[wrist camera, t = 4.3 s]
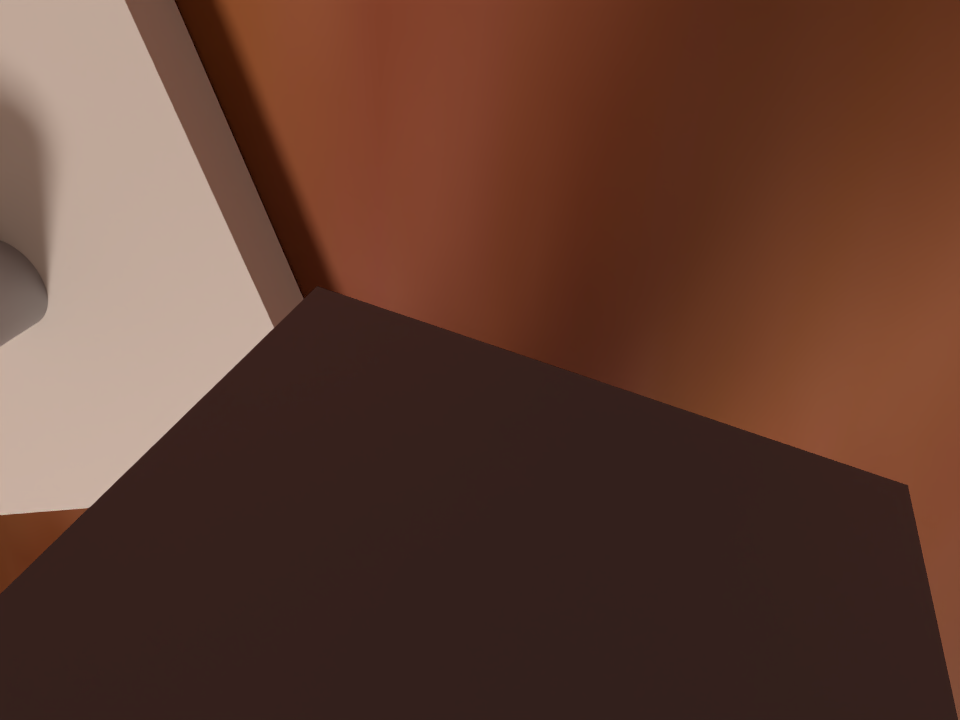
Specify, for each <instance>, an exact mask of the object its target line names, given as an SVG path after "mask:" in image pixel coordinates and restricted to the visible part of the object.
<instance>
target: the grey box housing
mask: <svg viewBox="0 0 960 720" xmlns="http://www.w3.org/2000/svg"><path fill="white" fill-rule="evenodd" d="M0 720H958V717H957V713H956V708H955V703H954V699H953V694H952V689H951V685H950V680H949V675H948V671H947V666H946V662H945V657H944V652H943V648H942V643H941V638H940V634H939V629H938V624H937V620H936V615H935V610H934V606H933V601H932V596H931V592H930V587H929V582H928V578H927V573H926V568H925V564H924V559H923V554H922V550H921V545H920V540H919V536H918V531H917V526H916V522H915V517H914V512H913V508H912V503H911V499H910V494H909V489H908V485H905V484H902V483H899V482H896V481H893V480H890V479H887V478H884V477H881V476H878V475H875V474H872V473H869V472H867V471H864V470H861V469H858V468H855V467H852V466H849V465H846V464H843V463H840V462H837V461H834V460H831V459H828V458H825V457H822V456H819V455H816V454H813V453H810V452H807V451H804V450H801V449H798V448H795V447H792V446H789V445H786V444H783V443H781V442H778V441H775V440H772V439H769V438H766V437H763V436H760V435H757V434H754V433H751V432H748V431H745V430H742V429H739V428H736V427H733V426H730V425H727V424H724V423H721V422H718V421H715V420H712V419H709V418H706V417H703V416H700V415H697V414H695V413H692V412H689V411H686V410H683V409H680V408H677V407H674V406H671V405H668V404H665V403H662V402H659V401H656V400H653V399H650V398H647V397H644V396H641V395H638V394H635V393H632V392H629V391H626V390H623V389H620V388H617V387H614V386H611V385H609V384H606V383H603V382H600V381H597V380H594V379H591V378H588V377H585V376H582V375H579V374H576V373H573V372H570V371H567V370H564V369H561V368H558V367H555V366H552V365H549V364H546V363H543V362H540V361H537V360H534V359H531V358H528V357H525V356H523V355H520V354H517V353H514V352H511V351H508V350H505V349H502V348H499V347H496V346H493V345H490V344H487V343H484V342H481V341H478V340H475V339H472V338H469V337H466V336H463V335H460V334H457V333H454V332H451V331H448V330H445V329H442V328H439V327H437V326H434V325H431V324H428V323H425V322H422V321H419V320H416V319H413V318H410V317H407V316H404V315H401V314H398V313H395V312H392V311H389V310H386V309H383V308H380V307H377V306H374V305H371V304H368V303H365V302H362V301H359V300H356V299H353V298H351V297H348V296H345V295H342V294H339V293H336V292H333V291H330V290H327V289H324V288H321V287H318V286H317V287H316V288H315V289H314V290H313V291H312V292H310V293H309V294H308V295H307V296H306V297H305V298H304V299H303V300H302V301H301V302H300V303H299V304H298V305H297V306H296V307H295V308H294V309H293V310H292V311H291V312H290V313H289V314H288V315H287V316H286V317H285V318H284V319H283V320H282V321H281V322H280V323H279V324H278V325H277V326H276V327H275V328H273V329H272V330H271V331H270V332H269V333H268V334H267V335H266V336H265V337H264V338H263V339H262V340H261V341H260V342H259V343H258V344H257V345H256V346H255V347H254V348H253V349H252V350H251V351H250V352H249V353H248V354H247V355H246V356H245V357H244V358H243V359H242V360H241V361H240V362H239V363H238V364H236V365H235V366H234V367H233V368H232V369H231V370H230V371H229V372H228V373H227V374H226V375H225V376H224V377H223V378H222V379H221V380H220V381H219V382H218V383H217V384H216V385H215V386H214V387H213V388H212V389H211V390H210V391H209V392H208V393H207V394H206V395H205V396H204V397H203V398H202V399H200V400H199V401H198V402H197V403H196V404H195V405H194V406H193V407H192V408H191V409H190V410H189V411H188V412H187V413H186V414H185V415H184V416H183V417H182V418H181V419H180V420H179V421H178V422H177V423H176V424H175V425H174V426H173V427H172V428H171V429H170V430H169V431H168V432H167V433H166V434H165V435H163V436H162V437H161V438H160V439H159V440H158V441H157V442H156V443H155V444H154V445H153V446H152V447H151V448H150V449H149V450H148V451H147V452H146V453H145V454H144V455H143V456H142V457H141V458H140V459H139V460H138V461H137V462H136V463H135V464H134V465H133V466H132V467H131V468H130V469H129V470H128V471H126V472H125V473H124V474H123V475H122V476H121V477H120V478H119V479H118V480H117V481H116V482H115V483H114V484H113V485H112V486H111V487H110V488H109V489H108V490H107V491H106V492H105V493H104V494H103V495H102V496H101V497H100V498H99V499H98V500H97V501H96V502H95V503H94V504H93V505H92V506H91V507H89V508H88V509H87V510H86V511H85V512H84V513H83V514H82V515H81V516H80V517H79V518H78V519H77V520H76V521H75V522H74V523H73V524H72V525H71V526H70V527H69V528H68V529H67V530H66V531H65V532H64V533H63V534H62V535H61V536H60V537H59V538H58V539H57V540H56V541H55V542H54V543H52V544H51V545H50V546H49V547H48V548H47V549H46V550H45V551H44V552H43V553H42V554H41V555H40V556H39V557H38V558H37V559H36V560H35V561H34V562H33V563H32V564H31V565H30V566H29V567H28V568H27V569H26V570H25V571H24V572H23V573H22V574H21V575H20V576H19V577H18V578H17V579H15V580H14V581H13V582H12V583H11V584H10V585H9V586H8V587H7V588H6V589H5V590H4V591H3V592H2V593H1V594H0Z"/></svg>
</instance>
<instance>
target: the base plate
mask: <svg viewBox="0 0 960 720" xmlns="http://www.w3.org/2000/svg"><path fill="white" fill-rule="evenodd" d="M302 300H303V297H302V294H301V292H300V290H299V287H298V285H297V283H296V280H295V278H294V276H293V273H292V271H291V269H290V266H289V264H288V262H287V260H286V257H285V255H284V253H283V250H282V248H281V246H280V243H279V241H278V239H277V236H276V234H275V232H274V229H273V227H272V225H271V223H270V220H269V218H268V216H267V213H266V211H265V209H264V206H263V204H262V202H261V199H260V197H259V195H258V192H257V190H256V188H255V186H254V183H253V181H252V179H251V176H250V174H249V172H248V169H247V167H246V165H245V162H244V160H243V158H242V155H241V153H240V151H239V148H238V146H237V144H236V142H235V139H234V137H233V135H232V132H231V130H230V128H229V125H228V123H227V121H226V118H225V116H224V114H223V111H222V109H221V107H220V105H219V102H218V100H217V98H216V95H215V93H214V91H213V88H212V86H211V84H210V81H209V79H208V77H207V74H206V72H205V70H204V68H203V65H202V63H201V61H200V58H199V56H198V54H197V51H196V49H195V47H194V44H193V42H192V40H191V37H190V35H189V33H188V31H187V28H186V26H185V24H184V21H183V19H182V17H181V14H180V12H179V10H178V7H177V5H176V3H175V0H0V515H6V514H19V513H31V512H44V511H56V510H68V509H81V508H89V507H91V506H92V505H93V504H94V503H95V502H96V501H97V500H98V499H99V498H100V497H101V496H102V495H103V494H104V493H105V492H106V491H107V490H108V489H109V488H110V487H111V486H112V485H113V484H114V483H115V482H116V481H117V480H118V479H119V478H120V477H121V476H122V475H123V474H124V473H125V472H126V471H128V470H129V469H130V468H131V467H132V466H133V465H134V464H135V463H136V462H137V461H138V460H139V459H140V458H141V457H142V456H143V455H144V454H145V453H146V452H147V451H148V450H149V449H150V448H151V447H152V446H153V445H154V444H155V443H156V442H157V441H158V440H159V439H160V438H161V437H162V436H163V435H165V434H166V433H167V432H168V431H169V430H170V429H171V428H172V427H173V426H174V425H175V424H176V423H177V422H178V421H179V420H180V419H181V418H182V417H183V416H184V415H185V414H186V413H187V412H188V411H189V410H190V409H191V408H192V407H193V406H194V405H195V404H196V403H197V402H198V401H199V400H200V399H202V398H203V397H204V396H205V395H206V394H207V393H208V392H209V391H210V390H211V389H212V388H213V387H214V386H215V385H216V384H217V383H218V382H219V381H220V380H221V379H222V378H223V377H224V376H225V375H226V374H227V373H228V372H229V371H230V370H231V369H232V368H233V367H234V366H235V365H236V364H238V363H239V362H240V361H241V360H242V359H243V358H244V357H245V356H246V355H247V354H248V353H249V352H250V351H251V350H252V349H253V348H254V347H255V346H256V345H257V344H258V343H259V342H260V341H261V340H262V339H263V338H264V337H265V336H266V335H267V334H268V333H269V332H270V331H271V330H272V329H273V328H275V327H276V326H277V325H278V324H279V323H280V322H281V321H282V320H283V319H284V318H285V317H286V316H287V315H288V314H289V313H290V312H291V311H292V310H293V309H294V308H295V307H296V306H297V305H298V304H299V303H300V302H301V301H302Z"/></svg>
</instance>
